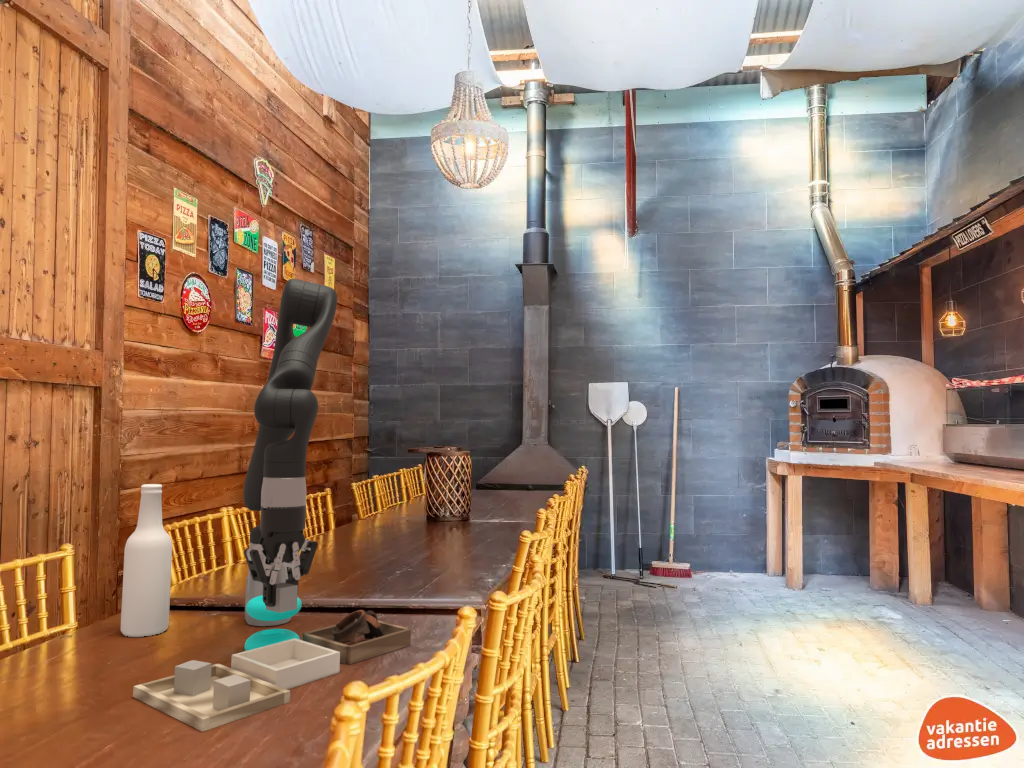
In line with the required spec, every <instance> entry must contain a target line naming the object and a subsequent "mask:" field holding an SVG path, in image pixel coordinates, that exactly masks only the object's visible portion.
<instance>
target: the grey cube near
mask: <svg viewBox="0 0 1024 768" xmlns="http://www.w3.org/2000/svg"><path fill="white" fill-rule="evenodd" d="M250 682H251V680H249V679H246V678H244V677H241V676H238V675H236V674H235V675H232V676H228V677H225V678H221V679H218V680H214V691H213V709H216V710H218V711H221V710H224V709H227V708H230V707H233V706H236V705H239V704H243V703H246V702H249V701H250Z"/></svg>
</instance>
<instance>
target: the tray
mask: <svg viewBox="0 0 1024 768" xmlns="http://www.w3.org/2000/svg"><path fill="white" fill-rule="evenodd" d="M235 674H236V675H238V676H241V677H244V678H246V679H249V680H251V682H250V701H249V702H246V703H243V704H239V705H236V706H233V707H230V708H227V709H224V710H221V711H218V710H216V709H213V691H214V680H218V679H221V678H225V677H228V676H232V675H235ZM174 675H175V674H174ZM174 675H170V676H166V677H162V678H159V679H156V680H151V681H149V682H143V683H139V684H136V685H133V688H132V689H133V690H132V692H133V693H132V697H133V698H134V699H136V700H137V701H140V702H142V703H144V704H146V705H148V706H150V707H152V708H154V709H156V710H158V711H160V712H162V713H164V714H166V715H168V716H170V717H172V718H174V719H176V720H178V721H179V722H183V723H184V724H186V725H188V726H189V727H192V728H194V729H196V730H198V731H200V732H202V733H203V732H206V731H209V730H212V729H215V728H217V727H221V726H224V725H226V724H229V723H233V722H235V721H238V720H241V719H244V718H247V717H250V716H252V715H253V716H254V715H257V714H259V713H262V712H265V711H268V710H270V709H273V708H276V707H279V706H282V705H285V704H288V703H290V702H291V690H290V689H288V690H287V689H284V688H281V687H279V686H276V685H274V684H271V683H268V682H266V681H263V680H260V679H258V678H255V677H253V676H250V675H247V674H245V673H242V672H239V671H237V670H234V669H232V668H231V667H228V666H226V665H223V664H222V663H215V664H212V665H211V689H210V690H207V691H205V692H203V693H200V694H198V695H196V696H188V695H183V694H178V693H174Z"/></svg>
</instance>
